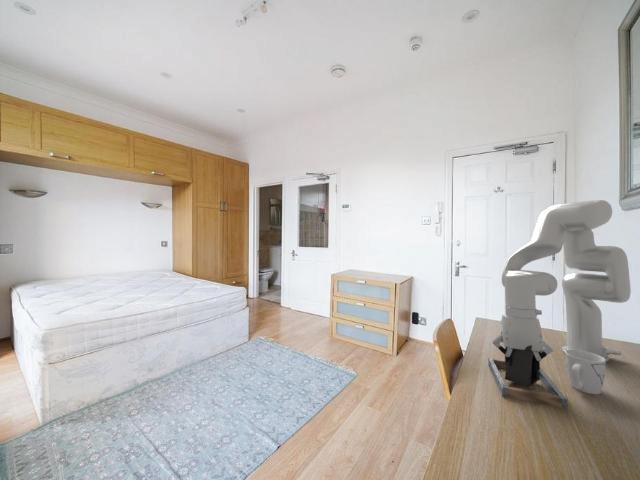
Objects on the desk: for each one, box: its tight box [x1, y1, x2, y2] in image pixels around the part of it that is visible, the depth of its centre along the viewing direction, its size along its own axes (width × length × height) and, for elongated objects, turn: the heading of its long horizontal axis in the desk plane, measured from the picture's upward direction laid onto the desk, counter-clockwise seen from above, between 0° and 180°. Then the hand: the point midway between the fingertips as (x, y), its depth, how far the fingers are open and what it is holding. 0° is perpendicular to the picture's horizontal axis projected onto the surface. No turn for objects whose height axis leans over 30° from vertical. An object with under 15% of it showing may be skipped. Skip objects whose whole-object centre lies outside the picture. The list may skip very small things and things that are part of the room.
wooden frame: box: [487, 357, 569, 410], centre depth 79 cm, size 14×20×2 cm
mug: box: [564, 350, 607, 395], centre depth 75 cm, size 11×8×10 cm
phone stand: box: [504, 345, 540, 389], centre depth 79 cm, size 9×6×12 cm, turn 122°
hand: (522, 369), depth 79 cm, fingers closed on phone stand, 5 cm apart
